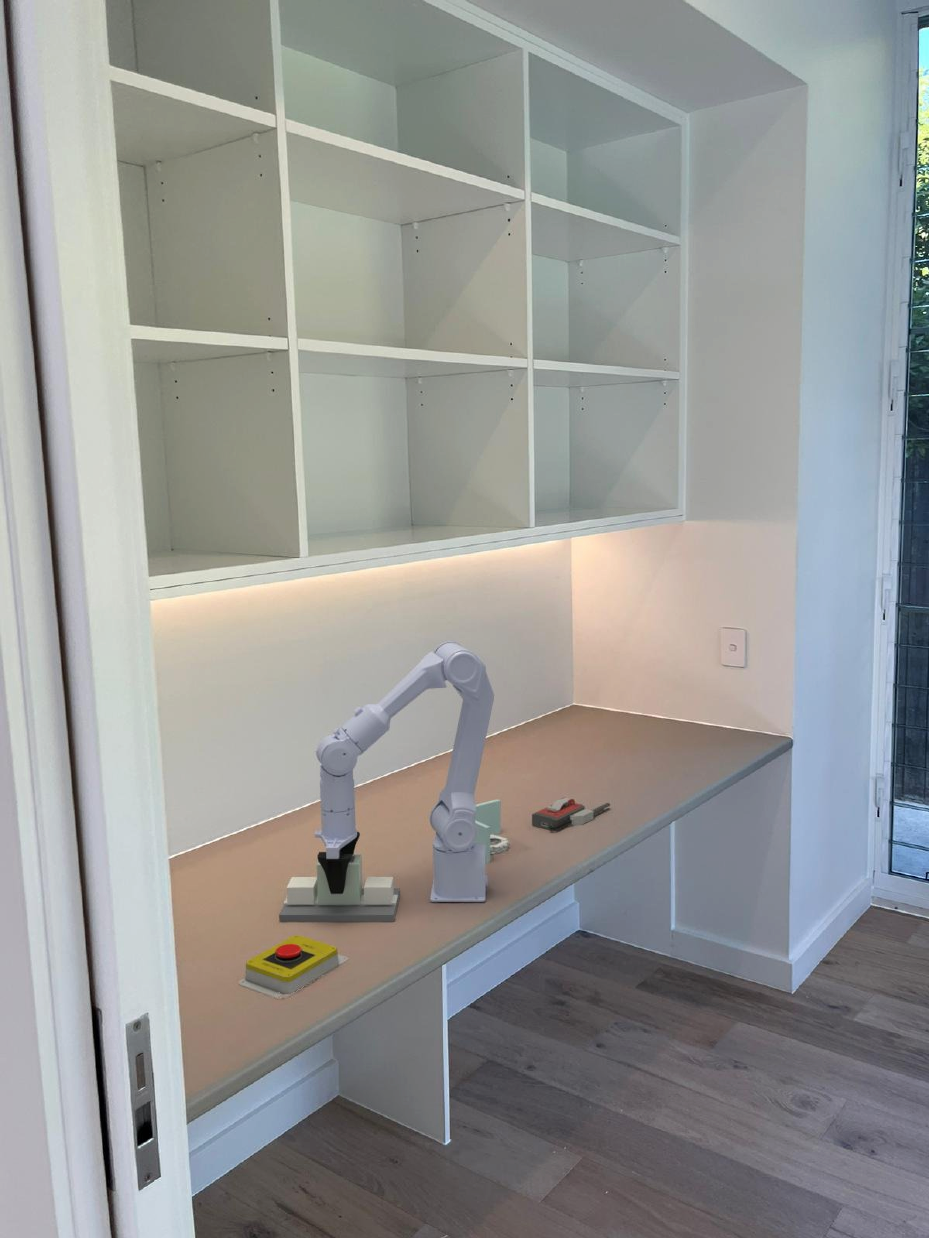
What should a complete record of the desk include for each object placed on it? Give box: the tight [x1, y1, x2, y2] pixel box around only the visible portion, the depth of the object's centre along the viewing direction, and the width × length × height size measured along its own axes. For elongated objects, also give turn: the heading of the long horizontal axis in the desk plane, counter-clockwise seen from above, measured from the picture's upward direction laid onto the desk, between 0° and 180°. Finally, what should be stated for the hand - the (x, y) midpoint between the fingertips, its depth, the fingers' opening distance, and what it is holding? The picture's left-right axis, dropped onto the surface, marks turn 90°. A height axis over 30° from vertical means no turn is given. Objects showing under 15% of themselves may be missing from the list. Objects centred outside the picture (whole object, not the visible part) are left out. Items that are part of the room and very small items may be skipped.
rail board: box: [278, 876, 401, 923], centre depth 180 cm, size 19×11×5 cm, turn 88°
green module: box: [316, 854, 364, 905], centre depth 179 cm, size 7×4×7 cm, turn 90°
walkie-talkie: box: [531, 796, 611, 832], centre depth 223 cm, size 9×4×20 cm
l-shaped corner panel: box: [474, 798, 510, 864], centre depth 207 cm, size 12×12×8 cm
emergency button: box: [238, 934, 348, 999], centre depth 158 cm, size 9×4×15 cm
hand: (340, 883), depth 180 cm, fingers open, 7 cm apart
